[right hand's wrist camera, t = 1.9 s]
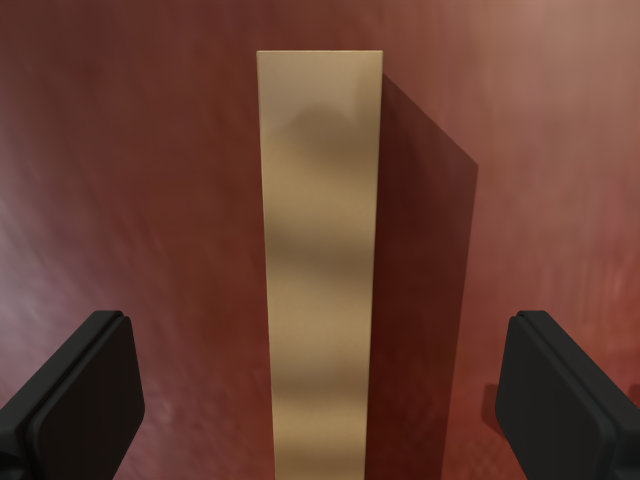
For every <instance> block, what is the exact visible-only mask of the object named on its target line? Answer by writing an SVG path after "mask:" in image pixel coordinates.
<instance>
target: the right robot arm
mask: <svg viewBox="0 0 640 480" xmlns="http://www.w3.org/2000/svg"><path fill="white" fill-rule="evenodd" d="M144 412H145V404H144V398H143V392H142V385H141V379H140V373H139V367H138V361H137V355H136V349H135V343H134V337H133V331H132V324H131V320H130V318H129V317H128V316H124V315H123V313H122V312H121V311H95V312H93V313H92V314H91V315H90V316H89V317H88V318H87V319H86V321H85V322H84V323H83V324H82V325H81V326H80V327H79V328H78V329H77V330H76V331H75V332H74V333H73V334H72V335H71V336H70V337H69V338H68V339H67V340H66V342H65V343H64V344H63V345H62V346H61V347H60V348H59V349H58V350H57V351H56V352H55V353H54V354H53V355H52V356H51V357H50V358H49V359H48V360H47V362H46V363H45V364H44V365H43V366H42V367H41V368H40V369H39V370H38V371H37V372H36V373H35V374H34V375H33V376H32V377H31V378H30V379H29V380H28V381H27V383H26V384H25V385H24V386H23V387H22V388H21V389H20V390H19V391H18V392H17V393H16V394H15V395H14V396H13V397H12V398H11V399H10V400H9V401H8V403H7V404H6V405H5V406H4V407H3V408H2V409H1V410H0V480H112V479H113V477H114V475H115V473H116V472H117V470H118V468H119V466H120V464H121V462H122V460H123V458H124V456H125V454H126V452H127V450H128V448H129V446H130V444H131V442H132V440H133V438H134V436H135V434H136V432H137V430H138V429H139V427H140V425H141V423H142V420H143V417H144ZM495 412H496V417H497V420H498V423H499V425H500V427H501V429H502V430H503V432H504V434H505V436H506V438H507V440H508V442H509V444H510V446H511V448H512V450H513V452H514V454H515V456H516V458H517V460H518V462H519V464H520V466H521V468H522V470H523V472H524V473H525V475H526V477H527V479H528V480H640V410H639V409H638V408H637V407H636V406H635V405H634V404H633V403H632V401H631V400H630V399H629V398H628V397H627V396H626V395H625V394H624V393H623V392H622V391H621V390H620V389H619V388H618V387H617V386H616V385H615V384H614V383H613V381H612V380H611V379H610V378H609V377H608V376H607V375H606V374H605V373H604V372H603V371H602V370H601V369H600V368H599V367H598V366H597V365H596V364H595V363H594V362H593V360H592V359H591V358H590V357H589V356H588V355H587V354H586V353H585V352H584V351H583V350H582V349H581V348H580V347H579V346H578V345H577V344H576V343H575V342H574V340H573V339H572V338H571V337H570V336H569V335H568V334H567V333H566V332H565V331H564V330H563V329H562V328H561V327H560V326H559V325H558V324H557V323H556V322H555V321H554V319H553V318H552V317H551V316H550V315H549V314H548V313H547V312H545V311H519V312H518V313H517V315H516V316H512V317H511V318H510V320H509V324H508V331H507V337H506V343H505V349H504V355H503V361H502V367H501V373H500V379H499V385H498V392H497V398H496V404H495Z"/></svg>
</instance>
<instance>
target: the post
mask: <svg viewBox="0 0 640 480" xmlns="http://www.w3.org/2000/svg"><path fill="white" fill-rule="evenodd" d="M256 55H257V77H258V100H259V122H260V144H261V167H262V189H263V211H264V234H265V256H266V278H267V301H268V323H269V345H270V368H271V390H272V413H273V435H274V457H275V480H364V477H365V455H366V432H367V410H368V387H369V365H370V343H371V320H372V298H373V275H374V253H375V231H376V208H377V186H378V163H379V141H380V119H381V96H382V74H383V51H257V53H256Z"/></svg>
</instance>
